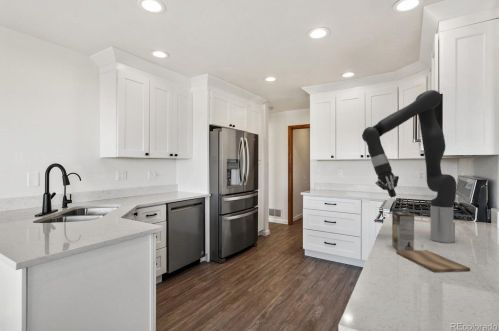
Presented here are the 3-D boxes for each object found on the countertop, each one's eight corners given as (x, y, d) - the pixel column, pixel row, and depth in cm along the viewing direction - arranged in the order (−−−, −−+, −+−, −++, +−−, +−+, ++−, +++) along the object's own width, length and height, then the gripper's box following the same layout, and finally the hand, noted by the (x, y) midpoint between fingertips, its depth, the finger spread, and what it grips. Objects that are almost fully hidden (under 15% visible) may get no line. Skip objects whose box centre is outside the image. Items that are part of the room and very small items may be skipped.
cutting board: (426, 252, 113) (426, 250, 113) (470, 271, 93) (470, 268, 93) (396, 253, 111) (396, 251, 111) (434, 272, 92) (434, 269, 92)
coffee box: (391, 245, 123) (391, 211, 123) (406, 246, 121) (406, 211, 122) (398, 251, 114) (398, 214, 114) (414, 252, 112) (415, 215, 113)
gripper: (374, 165, 130) (387, 199, 127) (396, 159, 133) (409, 192, 130) (365, 168, 137) (377, 201, 134) (386, 163, 140) (398, 194, 137)
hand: (393, 196), depth 132 cm, fingers closed
